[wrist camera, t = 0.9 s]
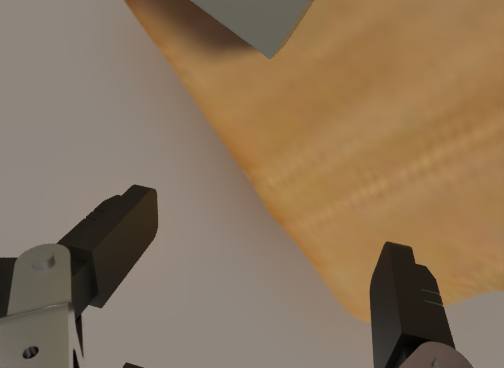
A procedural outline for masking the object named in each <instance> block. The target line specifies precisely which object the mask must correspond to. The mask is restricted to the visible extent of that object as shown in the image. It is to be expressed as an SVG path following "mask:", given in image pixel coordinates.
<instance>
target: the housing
mask: <svg viewBox="0 0 504 368" xmlns="http://www.w3.org/2000/svg"><path fill="white" fill-rule="evenodd" d="M190 1H192V2H193V3H194V4H196V5H197V6H199V7H200V8H201V9H203V10H204V11H205V12H207V13H208V14H209V15H211V16H212V17H213V18H215V19H216V20H217V21H219V22H220V23H222V24H223V25H224V26H226V27H227V28H228V29H230V30H231V31H232V32H234V33H235V34H236V35H238V36H239V37H240V38H242V39H243V40H245V41H246V42H247V43H249V44H250V45H251V46H253V47H254V48H255V49H257V50H258V51H259V52H261V53H262V54H263V55H265V56H266V57H267V58H269V59H271V58H272V57H273V56H274V55H275V54H276V53H277V52H278V51H279V50H280V49H281V48H282V47H283V46H284V45H285V44H286V42H287V41H288V39H289V38H290V36H291V35H292V33H293V32H294V30H295V29H296V27H297V26H298V24H299V23H300V21H301V20H302V18H303V17H304V15H305V14H306V12H307V10H308V9H309V7H310V6H311V4H312V3H313V1H314V0H190Z"/></svg>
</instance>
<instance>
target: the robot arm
mask: <svg viewBox="0 0 504 368" xmlns="http://www.w3.org/2000/svg"><path fill="white" fill-rule="evenodd" d="M157 208H158V207H157V192H156V190H155V189H153V188H148V187H144V186H139V185H133V186H131V187H130V188H129V189H128V190H127V191H126V192H125V193H124V194H123V195H122V196H120V195H116V196H113V197H111V198H109V199H107V200H105V201H103V202H102V203H101V204H100V205H99V206H98V207H96V208H95V209H94V211H93V212H91V213H90V214H89V215H88V216H86V219H83V220H82V221H81V222H80V223H79V224H78V225H77V226H75V227H74V228H73V229H72V230H71V231H70V232H69V233H68V234H66V235H65V236H64V237H63V238H62V239H61V240H60V241H59V242H58V243H56V244H43V245H39V246H35V247H33V248H31V249H29V250H27V251H25V252H24V253H22V254H21V255H20V256H19V258H0V368H86V357H85V340H84V322H83V314H82V312H83V311H84V310H85V308H86V307H87V306H88V305H91V306H95V307H98V308H102V307H103V306H104V305H105V303H106V302H107V300H108V299H109V298H110V297H111V295H112V294H113V293H114V291H115V290H116V289H117V287H118V286H119V285H120V283H121V282H122V281H123V279H124V278H125V277H126V275H127V274H128V273H129V271H130V270H131V269H132V267H133V266H134V265H135V263H136V262H137V261H138V260H139V258H140V257H141V256H142V254H143V253H144V251H145V250H146V249H147V248H148V246H149V245H150V244H151V242H152V241H153V240H154V238H155V236H156V233H157V229H158V209H157ZM439 294H440V292H439V289H438V285H437V282H436V279H435V278H434V276H433V275H432V274H431V272H430V271H429V270H428V269H427V267H426V266H423V265H419V264H415V259H414V255H413V251H412V248H411V247H410V246H406V245H401V244H397V243H392V242H388V241H387V242H386V243H385V244H384V246H383V249H382V252H381V254H380V257H379V260H378V262H377V265H376V268H375V270H374V273H373V276H372V279H371V284H370V309H371V325H372V343H373V357H374V358H373V359H374V368H473V367H472V365H471V364H470V363H469V361H468V360H467V359H466V358H465V357H464V356H463V355H462V354H461V353H459V352H458V351H457V350H456V349H455V345H454V342H453V338H452V335H451V331H450V328H449V324H448V321H447V317H446V313H445V310H444V307H443V303H442V299H441V296H440V295H439ZM123 368H143V367H139V366H136V365H133V364H130V363H125V365H124V366H123Z"/></svg>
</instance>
